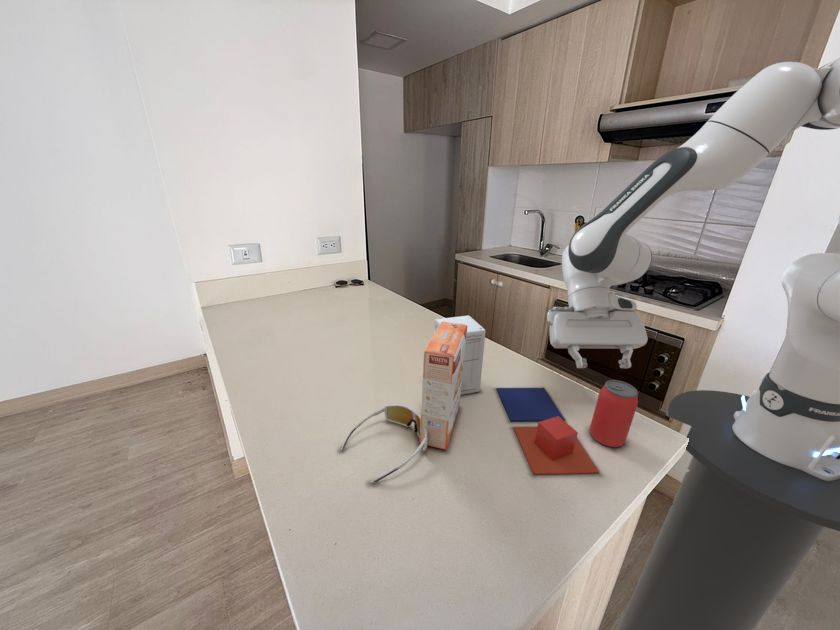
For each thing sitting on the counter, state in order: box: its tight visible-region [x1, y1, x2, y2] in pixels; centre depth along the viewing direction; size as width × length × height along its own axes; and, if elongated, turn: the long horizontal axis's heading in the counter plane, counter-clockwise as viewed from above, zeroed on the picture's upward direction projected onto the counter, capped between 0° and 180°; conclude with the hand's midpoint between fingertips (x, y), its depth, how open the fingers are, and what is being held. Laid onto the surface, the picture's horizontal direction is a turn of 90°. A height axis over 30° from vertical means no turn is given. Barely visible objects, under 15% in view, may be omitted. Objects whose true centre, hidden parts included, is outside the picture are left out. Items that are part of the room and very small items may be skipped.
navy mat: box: [496, 387, 566, 423], centre depth 79 cm, size 12×12×1 cm
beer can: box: [589, 379, 639, 448], centre depth 68 cm, size 7×7×12 cm
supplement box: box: [433, 314, 487, 396], centre depth 82 cm, size 10×9×17 cm
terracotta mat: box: [513, 426, 600, 476], centre depth 66 cm, size 12×12×1 cm
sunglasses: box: [340, 403, 428, 484], centre depth 65 cm, size 14×15×5 cm
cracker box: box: [419, 322, 467, 451], centre depth 68 cm, size 14×6×21 cm, turn 164°
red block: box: [535, 416, 579, 460], centre depth 65 cm, size 5×5×5 cm
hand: (604, 367), depth 72 cm, fingers open, 8 cm apart
